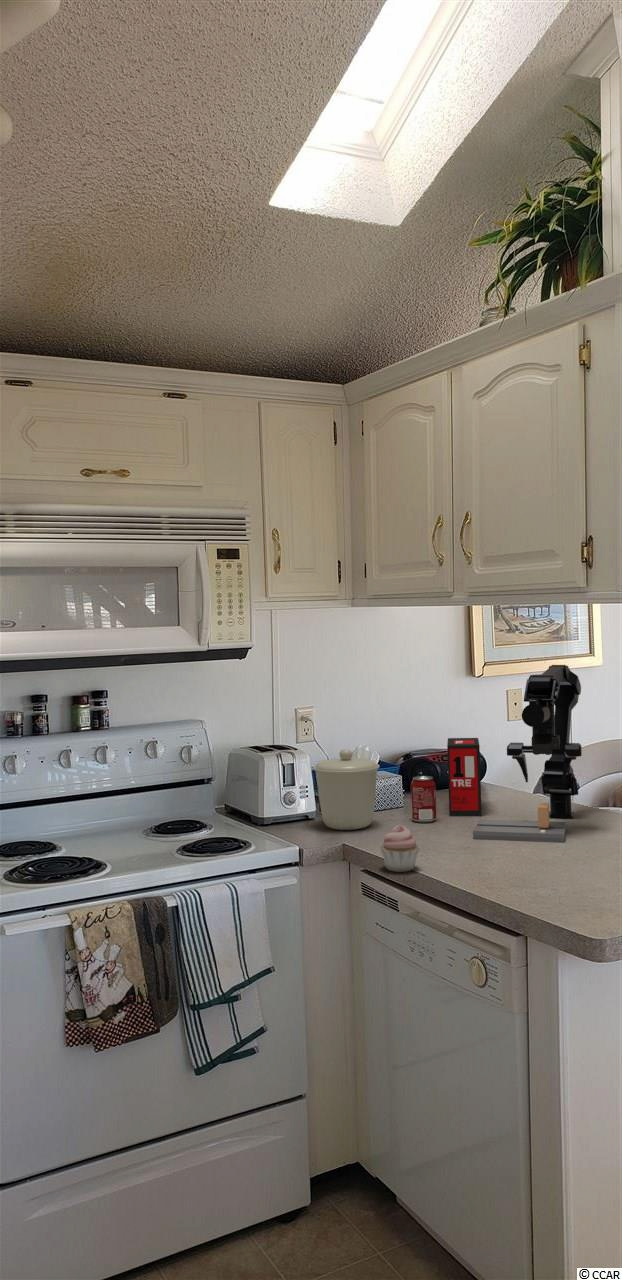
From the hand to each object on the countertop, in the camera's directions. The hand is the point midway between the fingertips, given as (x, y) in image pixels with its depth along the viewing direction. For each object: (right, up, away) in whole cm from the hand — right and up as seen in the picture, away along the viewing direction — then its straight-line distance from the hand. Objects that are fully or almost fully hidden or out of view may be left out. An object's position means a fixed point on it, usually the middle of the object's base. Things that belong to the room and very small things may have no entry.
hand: (545, 782), depth 244 cm
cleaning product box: (-16, -12, +27) cm, 34 cm away
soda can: (-30, -13, +14) cm, 35 cm away
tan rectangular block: (-2, -11, -7) cm, 13 cm away
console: (-8, -12, -6) cm, 16 cm away
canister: (-51, -14, +10) cm, 54 cm away
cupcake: (-41, -14, -35) cm, 56 cm away
